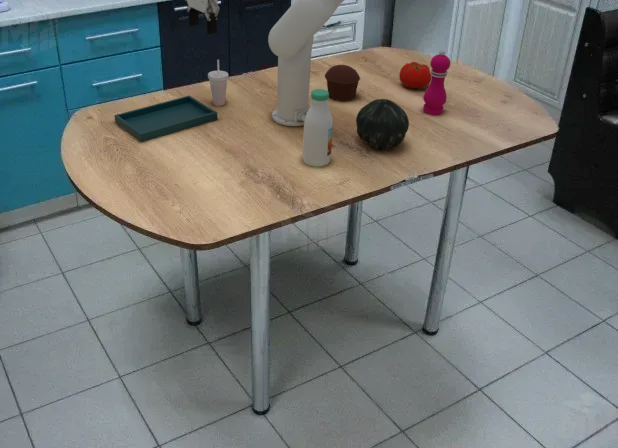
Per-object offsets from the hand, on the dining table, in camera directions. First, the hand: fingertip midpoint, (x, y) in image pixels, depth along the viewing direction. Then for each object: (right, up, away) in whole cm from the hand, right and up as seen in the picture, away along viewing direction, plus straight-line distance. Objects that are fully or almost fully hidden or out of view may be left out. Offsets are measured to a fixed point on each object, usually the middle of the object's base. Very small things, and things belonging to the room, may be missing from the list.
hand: (202, 29), depth 199 cm
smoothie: (+3, -20, +14) cm, 24 cm away
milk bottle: (+34, -41, -15) cm, 55 cm away
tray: (-11, -27, +1) cm, 29 cm away
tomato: (+68, -10, +33) cm, 76 cm away
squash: (+52, -35, -5) cm, 63 cm away
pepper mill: (+71, -22, +15) cm, 76 cm away
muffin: (+42, -16, +23) cm, 50 cm away
